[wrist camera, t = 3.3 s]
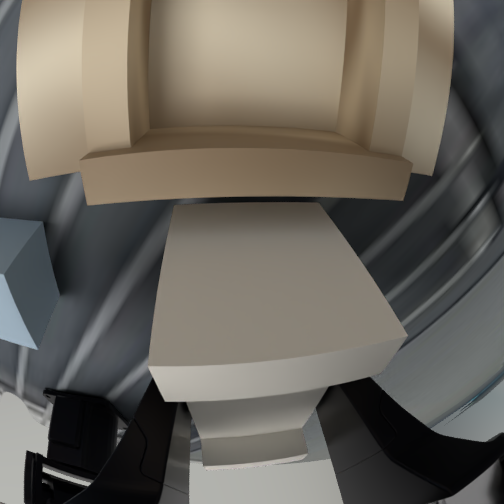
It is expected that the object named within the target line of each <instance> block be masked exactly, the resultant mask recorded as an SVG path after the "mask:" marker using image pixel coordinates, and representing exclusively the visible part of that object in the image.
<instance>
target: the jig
mask: <svg viewBox="0 0 504 504" xmlns="http://www.w3.org/2000/svg"><path fill="white" fill-rule="evenodd" d="M453 46H454V4H453V0H22V6H21V13H20V21H19V30H18V43H17V97H18V110H19V120H20V128H21V136H22V143H23V149H24V154H25V160H26V165H27V170H28V174H29V179H30V181H31V180H36V179H41V178H46V177H51V176H57V175H63V174H69V173H75V172H81V176H82V181H83V187H84V192H85V196H86V201H87V205H97V204H108V203H120V202H132V201H146V200H162V199H181V198H204V197H243V196H303V197H341V198H364V199H383V200H398V201H403V200H404V197H405V193H406V190H407V186H408V182H409V179H410V175H411V172H412V173H418V174H424V175H430V176H432V174H433V171H434V167H435V163H436V159H437V155H438V151H439V146H440V142H441V137H442V133H443V128H444V122H445V117H446V111H447V105H448V98H449V91H450V83H451V73H452V62H453Z"/></svg>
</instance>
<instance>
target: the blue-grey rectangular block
mask: <svg viewBox="0 0 504 504" xmlns="http://www.w3.org/2000/svg"><path fill="white" fill-rule="evenodd" d="M59 297H60V294H59V291H58V287H57V283H56V280H55V276H54V272H53V268H52V264H51V260H50V255H49V251H48V246H47V241H46V236H45V230H44V225H43V222H42V221H31V220H21V219H10V218H0V339H3V340H6V341H9V342H13V343H16V344H19V345H22V346H26V347H29V348H33V349H37V350H38V349H39V346H40V343H41V341H42V338H43V335H44V333H45V330H46V328H47V325H48V323H49V320H50V318H51V315H52V313H53V310H54V308H55V306H56V304H57V301H58V299H59Z"/></svg>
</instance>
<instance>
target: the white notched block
mask: <svg viewBox="0 0 504 504" xmlns="http://www.w3.org/2000/svg"><path fill="white" fill-rule="evenodd" d="M407 336H408V335H407V333H406V331H405V330H404V328H403V326H402V325H401V323H400V321H399V320H398V318H397V316H396V315H395V313H394V311H393V310H392V308H391V307H390V305H389V303H388V302H387V300H386V299H385V297H384V295H383V294H382V292H381V291H380V289H379V288H378V286H377V284H376V283H375V281H374V280H373V278H372V277H371V275H370V274H369V272H368V271H367V269H366V268H365V266H364V265H363V263H362V262H361V261H360V259H359V258H358V256H357V255H356V253H355V252H354V250H353V249H352V248H351V246H350V245H349V243H348V242H347V240H346V239H345V238H344V236H343V235H342V233H341V232H340V231H339V229H338V228H337V227H336V225H335V224H334V223H333V221H332V220H331V219H330V217H329V216H328V214H327V213H326V212H325V211H324V209H323V208H322V207H321V205H320V204H319V203H318V202H244V203H206V204H182V205H174V208H173V212H172V217H171V221H170V226H169V231H168V235H167V240H166V245H165V250H164V256H163V261H162V267H161V272H160V278H159V284H158V290H157V297H156V303H155V310H154V317H153V325H152V333H151V341H150V350H149V360H148V368H149V370H150V372H151V374H152V376H153V378H154V380H155V382H156V384H157V386H158V389H159V391H160V393H161V394H162V396H163V398H164V400H165V402H186V403H187V406H188V408H189V411H190V413H191V416H192V418H193V421H194V423H195V426H196V428H197V431H198V433H199V436H200V438H201V447H202V459H203V466H204V468H205V469H206V470H228V469H240V468H250V467H259V466H267V465H274V464H280V463H286V462H291V461H297V460H302V459H303V458H304V457H305V456H306V455H307V454H308V450H307V446H306V442H305V438H304V434H303V430H302V427H303V426H304V424H305V423H306V421H307V420H308V418H309V417H310V415H311V414H312V412H313V411H314V409H315V408H316V406H317V404H318V403H319V401H320V400H321V398H322V396H323V395H324V393H325V392H326V390H327V388H328V387H329V386H332V385H337V384H342V383H346V382H350V381H355V380H359V379H363V378H367V377H370V376H374V375H378V374H381V373H382V372H383V370H384V369H385V368H386V366H387V365H388V364H389V362H390V361H391V360H392V358H393V357H394V355H395V354H396V353H397V351H398V350H399V348H400V347H401V345H402V344H403V342H404V341H405V339H406V338H407Z"/></svg>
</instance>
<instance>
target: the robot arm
mask: <svg viewBox="0 0 504 504" xmlns="http://www.w3.org/2000/svg"><path fill="white" fill-rule="evenodd" d="M43 396H44V397H46V398H47V399H48V400H49V401H50V402H51V403H52V404H53V410H52V415H51V421H50V427H49V434H48V440H49V442H48V451H47V458H46V457H43V455H41V454H39V453H33V452H30V451H26V459H25V469H24V470H25V471H24V503H25V504H189V465H190V435H191V413H190V411H189V408H188V406H187V403H186V402H165V400H164V398H163V396H162V394H161V393H160V391H159V389H158V386H157V384H156V382H155V380H154V378H152V380H151V382H150V384H149V386H148V388H147V390H146V392H145V394H144V396H143V398H142V400H141V402H140V404H139V406H138V408H137V410H136V412H135V414H134V416H133V418H132V419H131V422H130V424H129V423H128V422H127V421H126V420H125V419H124V418H123V417H122V416H121V415H120V413H119V412H118V411H117V410H116V409H115V408H114V407H113V406H112V404H111V403H110V402H109V401H107V400H105V399H101V398H92V397H85V396H78V395H72V394H66V393H60V392H55V391H49V390H44V391H43ZM316 411H317V414H318V417H319V420H320V424H321V427H322V431H323V434H324V437H325V441H326V444H327V447H328V451H329V454H330V458H331V461H332V464H333V467H334V471H335V474H336V479H337V482H338V486H339V489H340V493H341V496H342V500H343V503H344V504H504V433H499V434H498V435H496V436H494V437H493V438H491V439H489V440H488V441H486V442H479V441H472V440H466V439H460V438H454V437H449V436H444V435H441V434H438V433H436V432H434V431H432V430H431V429H430V428H428V427H427V426H426V425H424V424H423V423H422V422H420V421H419V420H418V419H416V418H415V417H414V416H412V415H411V414H410V413H408V412H407V411H406V410H405V409H404V408H402V407H401V406H400V405H399V404H398V403H397V402H395V401H394V400H393V399H392V398H391V397H390V396H389V395H388V394H387V393H386V392H385V391H384V390H382V388H381V387H380V386H379V385H378V384H377V383H376V382H375V381H374V380H373V379H372V378H371V377H367V378H363V379H359V380H355V381H350V382H346V383H342V384H337V385H332V386H329V387H328V388H327V390H326V392H325V393H324V395H323V396H322V398H321V400H320V401H319V403H318V404H317V406H316ZM118 429H122V430H126V431H125V433H124V435H123V437H122V439H121V441H120V442H119V444H118V445H117V430H118ZM116 446H117V447H116ZM43 467H45V468H47V469H50V470H53V471H55V472H58V473H61V474H64V475H67V476H70V477H73V478H76V479H80V480H83V481H86V482H90V483H91V484H90V485H89V486H85V485H81V484H77V483H74V482H71V481H68V480H65V479H62V478H58V477H56V476H53V475H51V474H48V473H45V472H43V471H42V469H43ZM42 482H43V483H42ZM46 483H47V484H46ZM0 504H5V503H2V502H0Z"/></svg>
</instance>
